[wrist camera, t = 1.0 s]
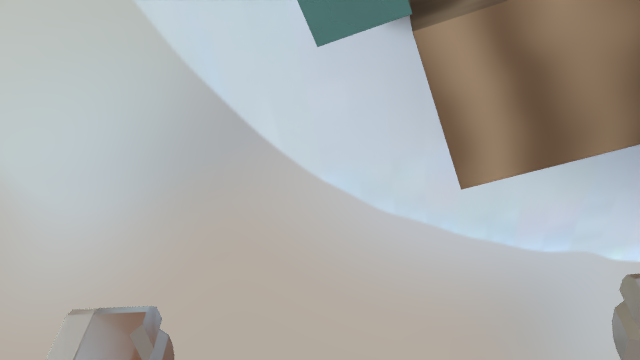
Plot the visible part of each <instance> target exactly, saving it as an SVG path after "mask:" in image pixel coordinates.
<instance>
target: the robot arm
mask: <svg viewBox="0 0 640 360" xmlns="http://www.w3.org/2000/svg"><path fill="white" fill-rule="evenodd" d="M620 292H621V294H622V296H623V299H624V301H623V302H622V303H620V304H619V305H618V306H617V307H616V308H615V310H614V314H613V319H612V327H613V338H614V342H615V345H616V349H617V352H618V354H619V356H620V359H621V360H640V274H631V275H626V276H625V278H624V279H623V280H622V284H621V287H620ZM161 320H162V318H161V316H160V313H159V311H158V309H157V307H154V306H143V307H118V308H98V309H77V310H72V311H71V312H70V313H69V314H68V315H67V316H66V317H65V319H64V321H63V323H62V325H61V327H60V330H59V332H58V334H57V336H56V338H55V341H54V343H53V345H52V347H51V349H50V352H49V354H48V356H47V358H46V360H174V351H173V345H172V342H171V339H170V337H169V335H168V334H167V333H165V332H164V331H162V330H161V329H159V328H160V324H161Z"/></svg>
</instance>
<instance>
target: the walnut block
mask: <svg viewBox="0 0 640 360" xmlns="http://www.w3.org/2000/svg"><path fill="white" fill-rule="evenodd" d="M410 4H411V9H412V14H410V20H411V26H412V31H413V35H414V38H415V41H416V44H417V48H418V51H419V54H420V57H421V61H422V64H423V67H424V70H425V74H426V77H427V80H428V83H429V87H430V90H431V93H432V96H433V100H434V103H435V106H436V109H437V113H438V116H439V119H440V122H441V126H442V129H443V132H444V135H445V139H446V142H447V145H448V148H449V152H450V155H451V158H452V161H453V164H454V168H455V171H456V174H457V177H458V181H459V184H460V187H461V189H465V188H469V187H473V186H477V185H481V184H485V183H489V182H493V181H497V180H501V179H505V178H509V177H513V176H517V175H521V174H524V173H528V172H532V171H536V170H540V169H544V168H548V167H552V166H556V165H560V164H564V163H568V162H572V161H576V160H580V159H584V158H588V157H592V156H596V155H599V154H603V153H607V152H611V151H615V150H619V149H623V148H627V147H631V146H635V145H639V144H640V0H410Z"/></svg>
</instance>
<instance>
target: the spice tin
mask: <svg viewBox="0 0 640 360" xmlns="http://www.w3.org/2000/svg"><path fill="white" fill-rule="evenodd" d="M298 3H299V5H300V7H301V10H302V12H303V14H304V17H305V19H306V21H307V24H308V26H309V28H310V31H311V33H312V35H313V37H314V40H315V42H316V44H317V47H319V46H322V45H325V44H327V43H330V42H333V41H336V40H339V39H342V38H345V37H347V36H350V35H353V34H356V33H359V32H362V31H365V30H367V29H370V28H373V27H376V26H379V25H382V24H385V23H387V22H390V21H393V20H396V19H399V18H402V17H405V16H408V15H410V14H412V9H411V4H410V0H298Z"/></svg>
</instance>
